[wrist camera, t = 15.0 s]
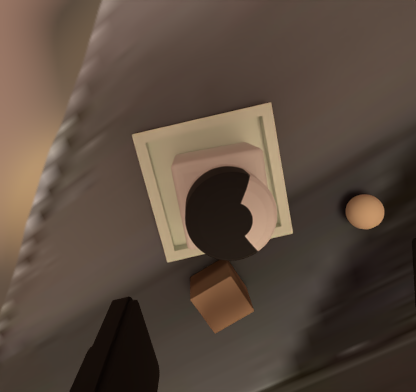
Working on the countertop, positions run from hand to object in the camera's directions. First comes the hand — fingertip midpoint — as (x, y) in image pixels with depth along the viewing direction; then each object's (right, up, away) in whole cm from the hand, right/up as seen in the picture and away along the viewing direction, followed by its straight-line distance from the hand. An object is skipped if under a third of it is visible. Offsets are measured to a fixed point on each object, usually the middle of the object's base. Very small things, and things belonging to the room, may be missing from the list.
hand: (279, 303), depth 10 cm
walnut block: (-1, -6, +24) cm, 25 cm away
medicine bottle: (-2, +5, +21) cm, 22 cm away
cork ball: (+13, +2, +23) cm, 27 cm away
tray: (-2, +5, +21) cm, 22 cm away
